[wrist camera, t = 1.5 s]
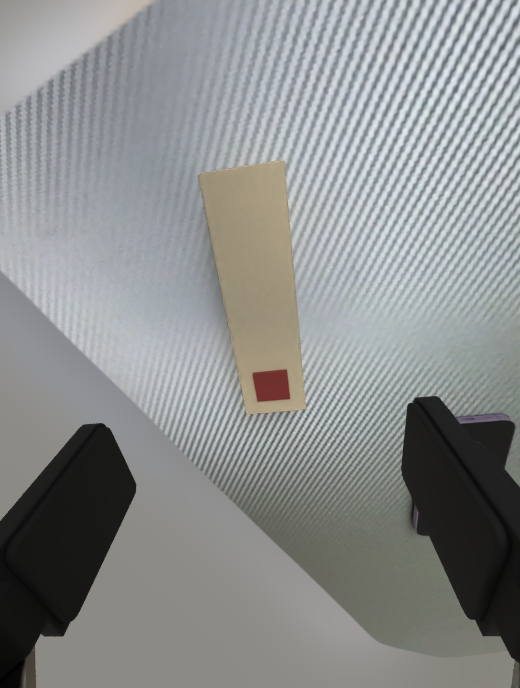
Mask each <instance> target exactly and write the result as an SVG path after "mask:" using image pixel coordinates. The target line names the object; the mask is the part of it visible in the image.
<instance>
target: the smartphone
mask: <svg viewBox="0 0 520 688" xmlns="http://www.w3.org/2000/svg"><path fill="white" fill-rule="evenodd" d="M456 419H457V420H458V421H459V423H460V424H461V425H462V426H463V427H464V429H465V430H466V431H467V432H468V434H469V435H470V436H471V437H472V438H473V440H474V441H478V442H480V443H482V444H483V445H484V446H485V447H486V448H487V449H488V450H489V451H490V453H491V454H492V455H493V456H494V457H495V459H496V460H497V461H498V462H499V463H500V464H501V466H502V467H503V468H504V469H505V466H506V463H507V459H508V455H509V452H510V448H511V444H512V441H513V437H514V433H515V430H516V424H515V422H514V421H513V420H512V419H510V418H509V417H508V416H507V415H504V414H493V415H481V416H469V417H457V418H456ZM413 527H414V529H415V532H416V533H417V534H418V535H421V536H429V534H428V532H427V530H426V528H425V526H424V523H423V521H422V519H421V517H420V515H419V512H418V510H417V508H416V506H414V515H413Z"/></svg>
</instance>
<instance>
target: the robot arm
mask: <svg viewBox="0 0 520 688" xmlns="http://www.w3.org/2000/svg"><path fill="white" fill-rule="evenodd" d="M401 470H402V476H403V479H404V481H405V484H406V486H407V488H408V490H409V492H410V495H411V497H412V499H413V501H414V504H415V506H416V508H417V510H418V512H419V515H420V517H421V519H422V521H423V523H424V526H425V528H426V530H427V532H428V534H429V537H430V539H431V541H432V543H433V545H434V548H435V550H436V552H437V554H438V556H439V559H440V561H441V563H442V565H443V567H444V570H445V572H446V574H447V576H448V578H449V581H450V583H451V585H452V587H453V589H454V592H455V594H456V596H457V598H458V600H459V603H460V605H461V607H462V609H463V611H464V613H465V614H466V616H467V617H468V618H469V619H471V620H475V621H476V623H477V625H478V627H479V629H480V631H481V633H482V635H483V636H501V638H502V640H503V642H504V644H505V646H506V648H507V650H508V652H509V654H510V655H511V657H512V658H513V659H515V664H514V670H513V678H512V686H511V688H520V487H519V486H518V485H517V483H516V482H515V481H514V480H513V479H512V477H511V476H510V475H509V474H508V473H507V472H506V470H505V469H504V468H503V467H502V466H501V464H500V463H499V462H498V461H497V460H496V459H495V457H494V456H493V455H492V454H491V453H490V451H489V450H488V449H487V448H486V447H485V446H484V445H483V444H482V443H480V442H478V441H474V440H473V438H472V437H471V436H470V435H469V434H468V432H467V431H466V430H465V429H464V427H463V426H462V425H461V424H460V423H459V421H458V420H457V419H456V418H455V416H454V415H453V414H452V413H451V412H450V410H449V409H448V408H447V407H446V405H445V404H444V403H443V402H442V401H441V399H440V398H439V397H437V396H430V397H418V398H415V399H414V401H413V403H409V404H408V406H407V416H406V426H405V436H404V446H403V456H402V466H401ZM135 493H136V483H135V481H134V478H133V476H132V474H131V472H130V470H129V468H128V465H127V463H126V461H125V459H124V457H123V455H122V453H121V451H120V449H119V446H118V444H117V442H116V440H115V438H114V436H113V434H112V432H111V430H110V428H108V427H106V426H105V425H104V424H103V423H99V424H98V423H97V424H85V425H82V426H81V427H80V428H79V429H78V430H77V431H76V433H75V434H74V435H73V436H72V438H71V439H70V440H69V441H68V442H67V443H66V444H65V446H64V447H63V448H62V449H61V450H60V451H59V453H58V454H57V455H56V456H55V457H54V459H53V460H52V461H51V462H50V463H49V464H48V466H47V467H46V468H45V469H44V470H43V472H42V473H41V474H40V475H39V476H38V477H37V479H36V480H35V481H34V482H33V483H32V484H31V486H30V487H29V488H28V489H27V490H26V491H25V493H24V494H23V495H22V496H21V498H19V500H18V501H17V502H16V503H15V505H14V506H13V507H12V508H11V509H10V510H9V511H8V513H7V514H6V515H5V516H4V517H3V519H2V520H1V521H0V688H36V674H35V673H36V670H35V644H36V642H37V640H38V638H39V636H40V634H42V635H43V636H64V634H65V632H66V630H67V628H68V626H69V624H70V622H71V621H73V620H74V619H75V617H77V615H78V613H79V612H80V610H81V607H82V605H83V603H84V601H85V599H86V597H87V595H88V593H89V590H90V588H91V586H92V584H93V582H94V580H95V578H96V576H97V574H98V571H99V569H100V567H101V565H102V563H103V561H104V559H105V557H106V554H107V552H108V550H109V548H110V546H111V544H112V542H113V540H114V538H115V536H116V533H117V531H118V529H119V527H120V525H121V523H122V521H123V519H124V516H125V514H126V512H127V510H128V508H129V505H130V504H131V502H132V500H133V497H134V495H135Z"/></svg>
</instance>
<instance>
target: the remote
mask: <svg viewBox="0 0 520 688" xmlns="http://www.w3.org/2000/svg"><path fill="white" fill-rule="evenodd" d="M198 178H199V183H200V188H201V193H202V198H203V203H204V208H205V213H206V218H207V223H208V227H209V232H210V237H211V242H212V247H213V252H214V257H215V262H216V267H217V272H218V277H219V282H220V287H221V292H222V296H223V301H224V306H225V311H226V316H227V321H228V326H229V331H230V336H231V341H232V346H233V351H234V356H235V361H236V365H237V370H238V375H239V380H240V385H241V390H242V395H243V400H244V405H245V410H246V414H258V413H271V412H283V411H296V410H305V409H306V405H305V393H304V382H303V370H302V359H301V347H300V336H299V324H298V313H297V301H296V289H295V278H294V266H293V255H292V243H291V232H290V220H289V208H288V197H287V185H286V174H285V162H284V160H278V161H272V162H265V163H259V164H253V165H247V166H241V167H235V168H229V169H223V170H217V171H211V172H205V173H199V174H198Z"/></svg>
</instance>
